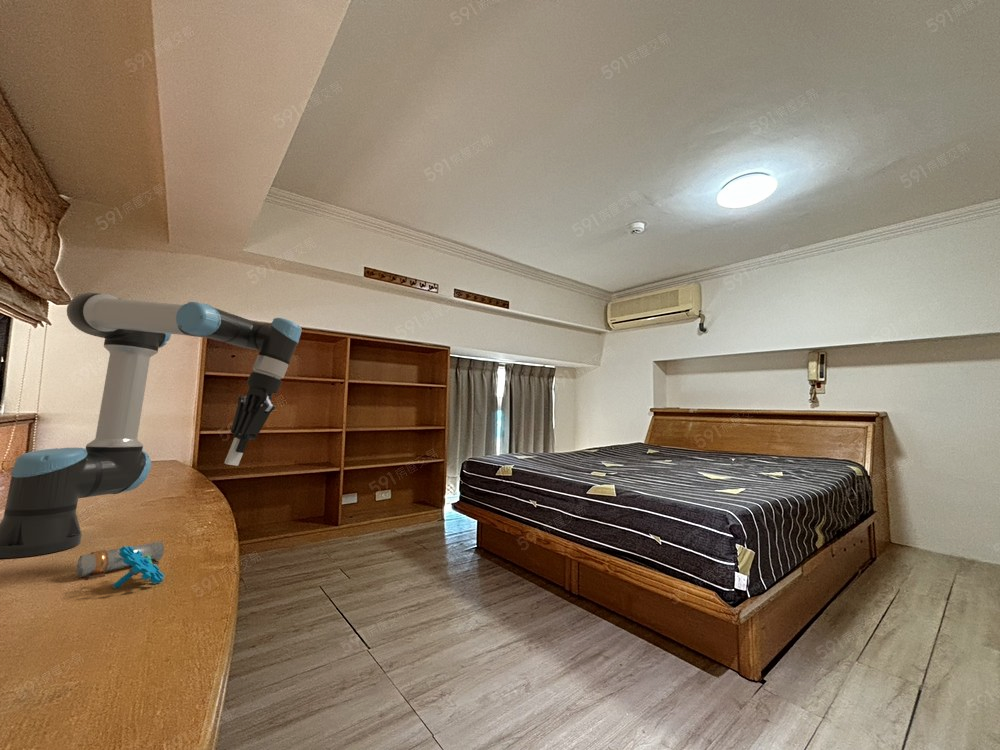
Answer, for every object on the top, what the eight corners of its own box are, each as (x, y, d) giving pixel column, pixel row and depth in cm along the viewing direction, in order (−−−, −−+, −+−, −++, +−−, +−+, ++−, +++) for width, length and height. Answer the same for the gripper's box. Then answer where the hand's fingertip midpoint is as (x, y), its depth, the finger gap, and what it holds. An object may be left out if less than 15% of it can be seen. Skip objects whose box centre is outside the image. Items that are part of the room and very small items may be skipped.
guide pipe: (74, 575, 81) (78, 551, 82) (153, 558, 92) (156, 538, 93) (83, 581, 79) (87, 556, 79) (162, 563, 90) (166, 541, 91)
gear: (161, 582, 76) (120, 546, 74) (128, 610, 73) (84, 574, 71) (172, 571, 85) (136, 539, 84) (143, 596, 82) (104, 563, 81)
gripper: (295, 382, 105) (260, 472, 99) (266, 377, 111) (232, 461, 106) (268, 373, 99) (229, 468, 93) (240, 368, 105) (201, 456, 99)
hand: (231, 464), depth 99 cm, fingers closed
